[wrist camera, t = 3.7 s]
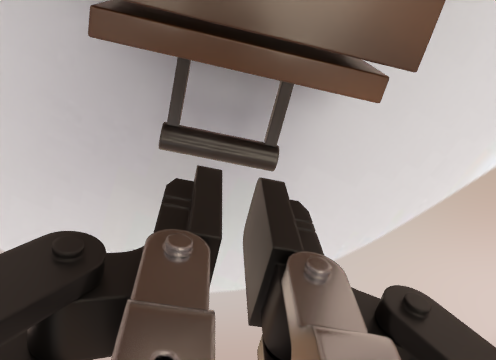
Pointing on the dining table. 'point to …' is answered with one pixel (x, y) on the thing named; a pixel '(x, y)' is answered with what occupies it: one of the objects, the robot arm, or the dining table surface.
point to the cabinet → (327, 24)
